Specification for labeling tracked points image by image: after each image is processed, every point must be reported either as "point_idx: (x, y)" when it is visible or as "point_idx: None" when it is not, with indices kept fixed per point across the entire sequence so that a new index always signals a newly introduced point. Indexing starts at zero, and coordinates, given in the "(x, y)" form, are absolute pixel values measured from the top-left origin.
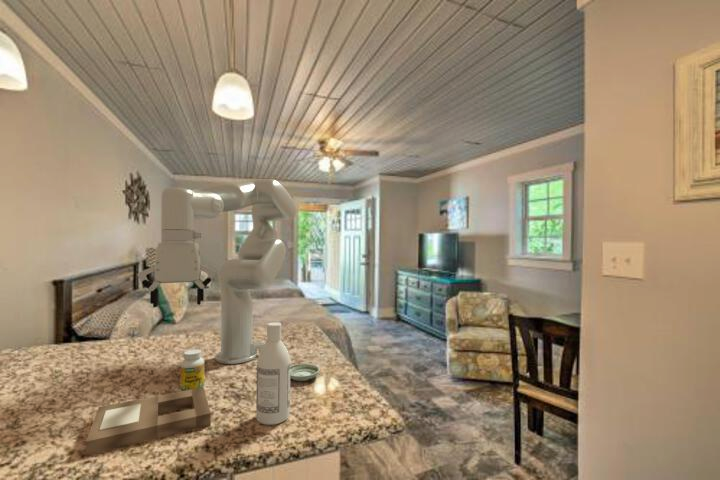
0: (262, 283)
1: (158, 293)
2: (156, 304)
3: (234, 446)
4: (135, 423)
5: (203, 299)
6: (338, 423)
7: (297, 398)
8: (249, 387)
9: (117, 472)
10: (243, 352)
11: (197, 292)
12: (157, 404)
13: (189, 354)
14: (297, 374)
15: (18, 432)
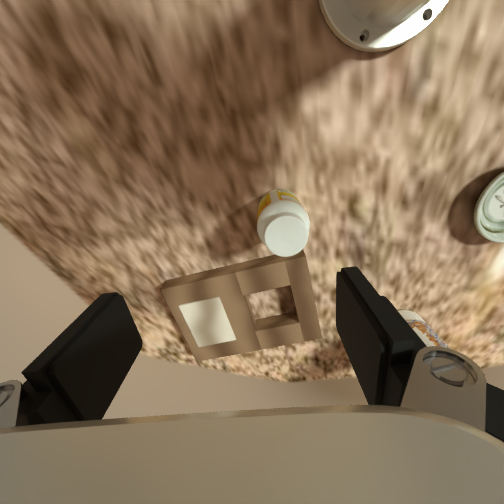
0: None
1: (76, 350)
2: (137, 354)
3: (343, 364)
4: (233, 340)
5: (381, 296)
6: (467, 353)
7: (450, 285)
8: (384, 225)
9: (242, 374)
10: (420, 8)
11: (366, 392)
12: (244, 301)
13: (281, 256)
14: (500, 195)
15: (85, 290)
